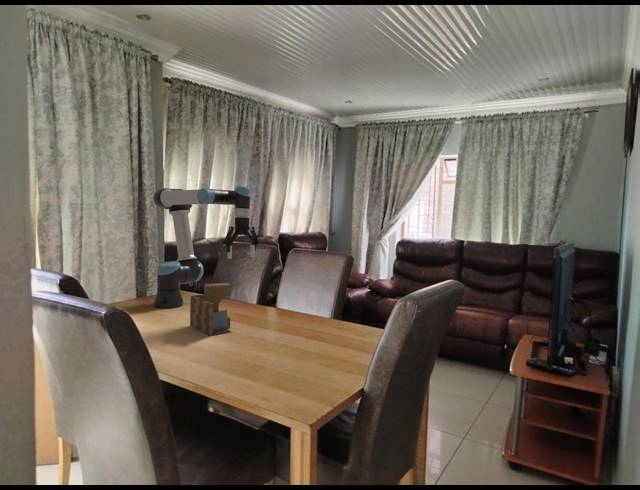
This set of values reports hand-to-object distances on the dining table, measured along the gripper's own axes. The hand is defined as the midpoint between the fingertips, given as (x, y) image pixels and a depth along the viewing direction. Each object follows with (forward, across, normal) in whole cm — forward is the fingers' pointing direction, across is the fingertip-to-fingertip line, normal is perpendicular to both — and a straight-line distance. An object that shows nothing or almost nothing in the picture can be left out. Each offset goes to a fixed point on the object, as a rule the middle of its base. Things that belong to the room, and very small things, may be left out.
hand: (241, 258), depth 214 cm
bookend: (+29, -25, -25) cm, 46 cm away
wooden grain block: (+29, -26, -18) cm, 43 cm away
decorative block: (+29, -23, -18) cm, 41 cm away
